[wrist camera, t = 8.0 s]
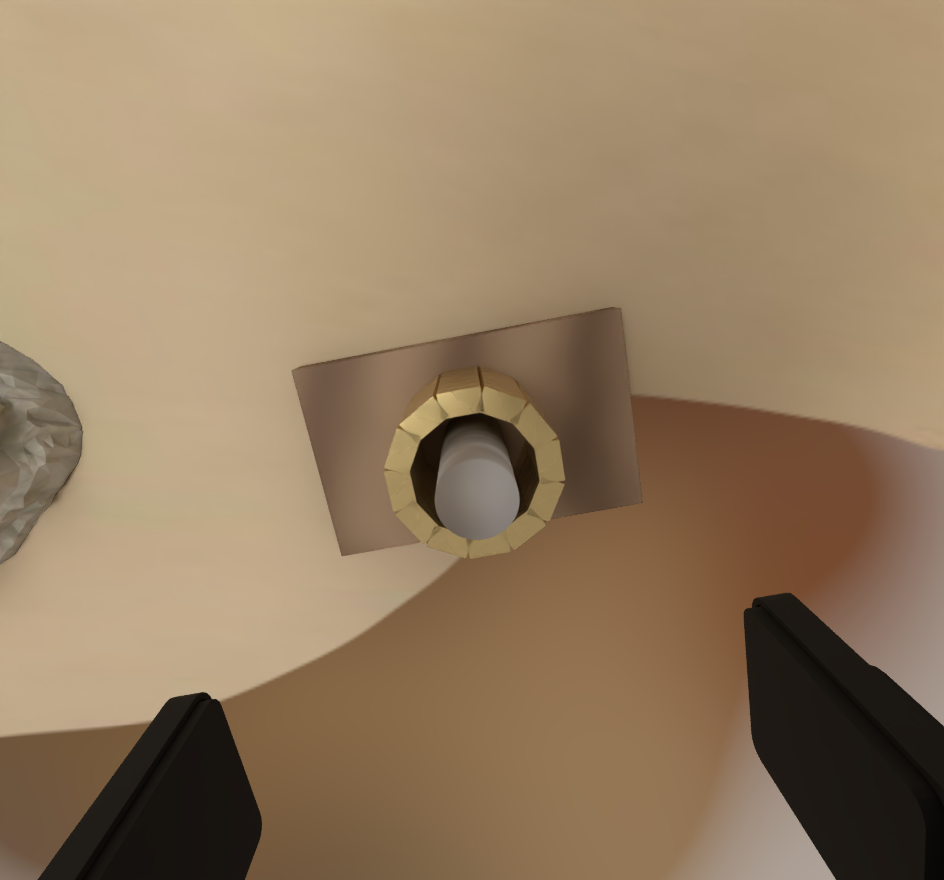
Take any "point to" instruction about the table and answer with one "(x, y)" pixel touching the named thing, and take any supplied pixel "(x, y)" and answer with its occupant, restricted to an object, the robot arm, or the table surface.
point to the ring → (418, 478)
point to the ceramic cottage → (31, 444)
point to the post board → (474, 427)
